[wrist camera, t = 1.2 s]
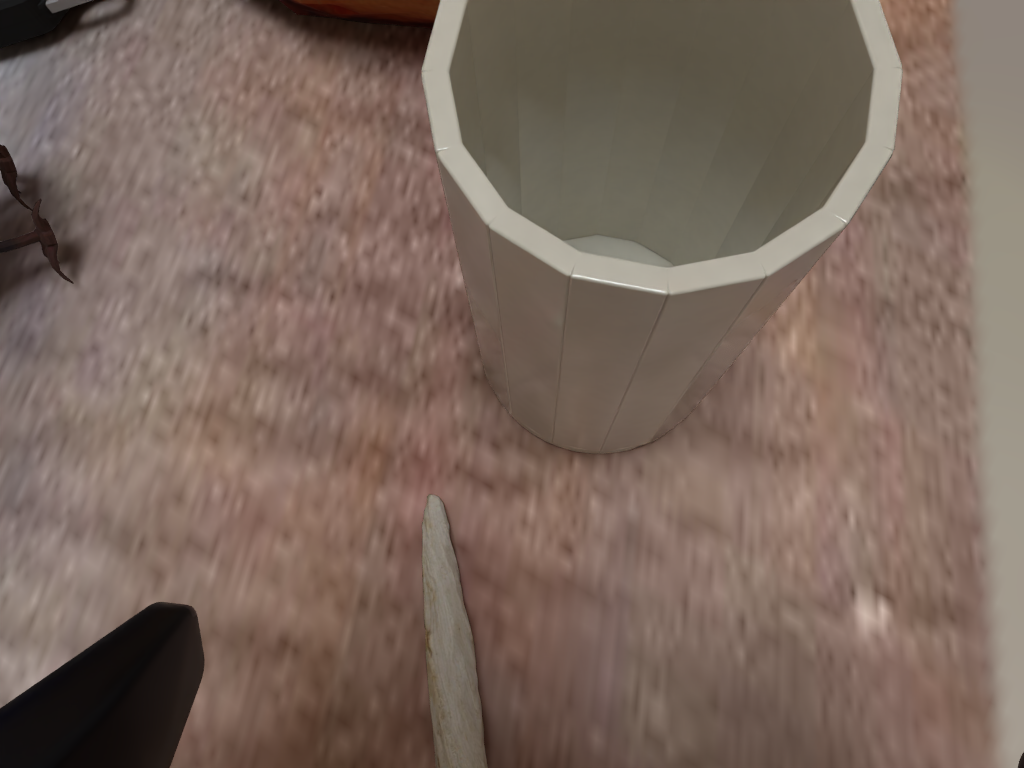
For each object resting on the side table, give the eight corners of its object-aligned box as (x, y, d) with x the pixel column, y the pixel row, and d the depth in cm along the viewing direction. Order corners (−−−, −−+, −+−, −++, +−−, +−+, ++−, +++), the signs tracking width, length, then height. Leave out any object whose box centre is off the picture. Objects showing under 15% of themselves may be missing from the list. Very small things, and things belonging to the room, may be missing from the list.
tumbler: (738, 430, 23) (966, 239, 11) (503, 474, 23) (467, 332, 11) (682, 214, 25) (825, -158, 12) (463, 255, 24) (392, -82, 12)
